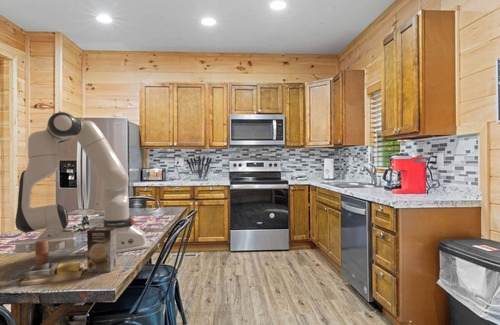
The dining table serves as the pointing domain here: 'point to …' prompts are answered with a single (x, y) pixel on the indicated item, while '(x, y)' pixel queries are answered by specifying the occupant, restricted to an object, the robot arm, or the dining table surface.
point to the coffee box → (101, 249)
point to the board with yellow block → (53, 273)
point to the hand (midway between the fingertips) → (43, 249)
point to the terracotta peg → (42, 255)
